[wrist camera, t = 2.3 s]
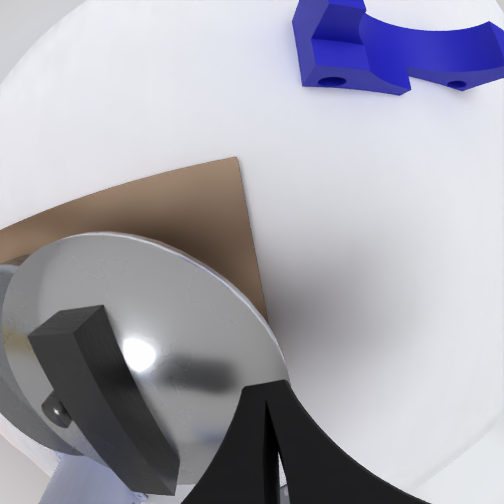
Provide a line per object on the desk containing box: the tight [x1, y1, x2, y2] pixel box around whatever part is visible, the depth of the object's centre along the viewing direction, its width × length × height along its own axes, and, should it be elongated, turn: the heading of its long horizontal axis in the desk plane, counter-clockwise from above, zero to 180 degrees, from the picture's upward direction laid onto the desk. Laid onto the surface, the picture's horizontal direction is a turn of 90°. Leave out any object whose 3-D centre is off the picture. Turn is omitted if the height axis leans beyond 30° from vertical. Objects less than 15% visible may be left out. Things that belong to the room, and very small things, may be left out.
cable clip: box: [292, 0, 504, 95], centre depth 10 cm, size 12×4×6 cm, turn 95°
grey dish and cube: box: [0, 254, 85, 456], centre depth 12 cm, size 12×18×4 cm, turn 101°
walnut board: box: [0, 157, 269, 325], centre depth 15 cm, size 16×24×1 cm, turn 101°
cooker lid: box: [2, 231, 291, 496], centre depth 8 cm, size 13×13×3 cm
